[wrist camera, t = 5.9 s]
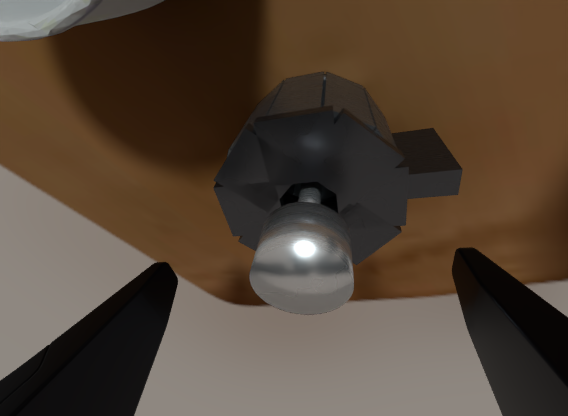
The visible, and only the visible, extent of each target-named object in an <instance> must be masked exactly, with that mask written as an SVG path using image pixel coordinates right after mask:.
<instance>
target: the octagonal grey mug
mask: <svg viewBox="0 0 568 416" xmlns="http://www.w3.org/2000/svg"><path fill="white" fill-rule="evenodd" d="M461 175H462V168H461V166H460V165H459V164H458V162H457V161H456V159H455V158H454V157H453V155H452V154H451V152H450V151H449V150H448V148H447V147H446V145H445V144H444V143H443V141H442V140H441V138H440V137H439V136H438V134H437V133H436V131H435V130H434V129H433V128H430V129H422V130H415V131H407V132H400V133H392V134H391V131H390V129H389V126H388V124H387V121H386V119H385V117H384V115H383V114H382V112H381V111H380V109H379V108H378V106H377V105H376V104H375V102H374V101H373V99H372V98H371V96H370V95H369V93H368V92H367V90H366V89H365V87H364V88H363V86H362V85H359V84H357V83H354V82H352V81H349V80H346V79H344V78H341V77H339V76H336V75H334V74H331V73H329V72H326V74H324V72H318V73H313V74H308V75H303V76H297V77H292V78H287V79H286V80H285V81H284V80H283V81H282V82H281V83H280V84H279V85H278V86H277V87H276V88H275V89H273V90H272V91H271V92H270V93H269V94H268V95H267V96H266V97H265V98H264V99H263V100H262V101H260V102H259V103H258V104H257V106H256V108H255V109H254V111H253V112H252V114H251V115H250V117H249V118H248V120H247V122H246V123H245V125H244V126H243V128H242V129H241V131H240V133H239V134H238V136H237V137H236V139H235V140H234V142H233V143H232V145H231V147H230V148H229V151H228V155H227V159H226V161H225V162H224V164H223V166H222V167H221V169H220V171H219V172H218V174H217V176H216V177H215V179H214V181H215V182H216V184H215V186H214V191H215V193H216V195H217V198H218V200H219V203H220V205H221V208H222V210H223V212H224V215H225V217H226V220H227V222H228V225H229V227H230V229H231V232H232V234H233V236H240V238H239V241H238V242H240V243H242V244H244V245H246V246H247V247H249V248H251V249H253V250H255V251H256V250H257V246H258V243H259V239H260V236H261V232H262V229H263V225H264V222H265V220H266V219H267V217H268V216H269V215H270V214H271V213H272V212H273V211H274V210H276V209H277V208H279V207H281V206H283V205H286V204H289V203H294V202H298V199H299V197H298V196H296V195H293V194H291V193H289V192H288V191H287V190H288V189H289V187H290V186H291V185H292V184H297V183H307V182H316V181H317V182H318V183H320V184H321V185H323V186H324V187H326V188H327V189H329V190H330V191H332V192H334V193H335V194H336V195H335V196H332V197H329V198H325V199H321V205H324V206H326V207H329V208H330V209H332V210H334V211H335V212H337V213H338V214H339V215H340V216H341V217H342V218H343V219H344V220H345V222H346V223H347V225H348V227H349V230H350V237H351V251H352V263H354V264H356V265H357V264H359V263H360V262H361V261H363V260H364V259H365V258H367V257H368V256H370V255H371V254H372V253H374V252H375V251H376V250H378V249H379V248H380V247H382V246H383V245H385V244H386V243H387V242H389V241H390V240H391V239H393V238H394V237H395V236H397V235H398V234H399V233H401V232H402V231H401V227H400V226H403V225H406V211H407V199H412V198H424V197H436V196H448V195H458V192H459V186H460V181H461Z"/></svg>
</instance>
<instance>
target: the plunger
mask: <svg viewBox="0 0 568 416" xmlns="http://www.w3.org/2000/svg"><path fill="white" fill-rule="evenodd" d="M287 191H288V192H289V193H291V194H293V195H296V196H298V197H299V199H298V202H294V203H289V204H286V205H283V206H281V207H279V208H277V209H276V210H274V211H273V212H272V213H271V214H270V215H269V216H268V217H267V219H266V220H265V222H264V225H263V229H262V232H261V236H260V239H259V243H258V246H257V250H256V253H255V256H254V260H253V263H252V267H251V270H250V276H249V278H250V283H251V286H252V288H253V290H254V291H255V293H256V294H257V295H258V296H259V297H260V298H261V299H262V300H264V301H265V302H266V303H268V304H270V305H271V306H273V307H276V308H278V309H280V310H283V311H286V312H290V313H296V314H305V315H312V314H322V313H326V312H330V311H332V310H335V309H337V308H339V307H340V306H342V305H343V304H345V303H346V302H347V301H348V300H349V298H350V297H351V295H352V293H353V289H354V279H353V265H352V251H351V237H350V230H349V227H348V225H347V223H346V222H345V220H344V219H343V218H342V217H341V216H340V215H339V214H338V213H337V212H335V211H334V210H332V209H330V208H329V207H326V206H324V205H321V199H325V198H329V197H332V196H335V195H336V194H335V193H334V192H332V191H330V190H329V189H327V188H326V187H324V186H323V185H321V184H320V183H318V182H317V181H316V182H307V183H297V184H292V185H291V186H290V187H289V189H288V190H287Z"/></svg>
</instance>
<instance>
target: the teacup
mask: <svg viewBox="0 0 568 416" xmlns="http://www.w3.org/2000/svg"><path fill="white" fill-rule="evenodd" d="M163 1H164V0H0V41H27V40H37V39H42V38H43V37H48V36H52V35H56V34H59V33H62V32H64V31H66V30H68V29H70V28H72V27H74V26H77V25H82V24H87V23H92V22H97V21H102V20H107V19H112V18H116V17H120V16H124V15H127V14H131V13H135V12H138V11H141V10H144V9H147V8H150V7H152V6H154V5H156V4H159V3H161V2H163Z"/></svg>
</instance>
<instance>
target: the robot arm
mask: <svg viewBox="0 0 568 416" xmlns="http://www.w3.org/2000/svg"><path fill="white" fill-rule="evenodd" d="M452 275H453V279H454V283H455V286H456V290H457V294H458V297H459V301H460V305H461V308H462V312H463V315H464V319H465V322H466V326H467V329H468V331H469V334H470V337H471V339H472V342H473V344H474V347H475V349H476V351H477V354H478V357H479V358H480V361H481V364H482V366H483V369H484V371H485V373H486V376H487V378H488V381H489V383H490V386H491V388H492V391H493V393H494V396H495V398H496V400H497V403H498V405H499V408H500V410H501V413H502V415H503V416H568V317H566V316H565V315H564V314H562V313H561V312H560V311H558V310H557V309H556V308H554V307H553V306H552V305H550V304H549V303H548V302H546V301H545V300H544V299H542V298H541V297H540V296H538V295H537V294H536V293H534V292H533V291H532V290H530V289H529V288H528V287H526V286H525V285H524V284H522V283H521V282H520V281H518V280H517V279H516V278H514V277H513V276H512V275H510V274H509V273H507V272H506V271H505V270H503V269H502V268H501V267H499V266H498V265H497V264H495V263H494V262H493V261H491V260H490V259H489V258H487V257H486V256H485V255H483V254H482V253H481V252H479V251H478V250H477V249H475V248H472V247H470V248H458V249H456V251H455V256H454V261H453V266H452ZM177 285H178V278H177V276H176V274H175V273H174V271H173V270H172V268H171V267H170V265H169V264H168V263H167V262H157V263H154V264H153V265H151V266H150V267H149V268H147V269H146V270H145V271H144V272H142V273H141V274H140V275H138V276H137V277H136V278H134V279H133V280H132V281H131V282H129V283H128V284H127V285H125V286H124V287H123V288H121V289H120V290H119V291H118V292H116V293H115V294H114V295H112V296H111V297H110V298H109V299H107V300H106V301H105V302H103V303H102V304H101V305H100V306H98V307H97V308H96V309H94V310H93V311H92V312H90V313H89V314H88V315H86V316H85V317H84V318H83V319H81V320H80V321H79V322H77V323H76V324H75V325H73V326H72V327H71V328H70V329H68V330H67V331H66V332H64V333H63V334H62V335H61V336H59V337H58V338H57V339H55V340H54V341H53V342H52V343H51V344H50V345H47V346H46V347H45V348H44V349H42V350H41V351H40V352H38V353H37V354H36V355H35V356H33V357H32V358H31V359H29V360H28V361H27V362H25V363H24V364H23V365H21V366H20V367H19V368H17V369H16V370H15V371H13V372H12V373H10V374H9V375H8V376H6V377H5V378H3V379H2V380H1V381H0V416H134V414H135V411H136V408H137V406H138V403H139V400H140V398H141V395H142V392H143V390H144V387H145V384H146V381H147V379H148V376H149V373H150V370H151V368H152V365H153V362H154V360H155V357H156V354H157V351H158V349H159V346H160V343H161V341H162V337H163V335H164V332H165V329H166V326H167V323H168V320H169V316H170V312H171V308H172V304H173V300H174V297H175V292H176V289H177Z"/></svg>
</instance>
